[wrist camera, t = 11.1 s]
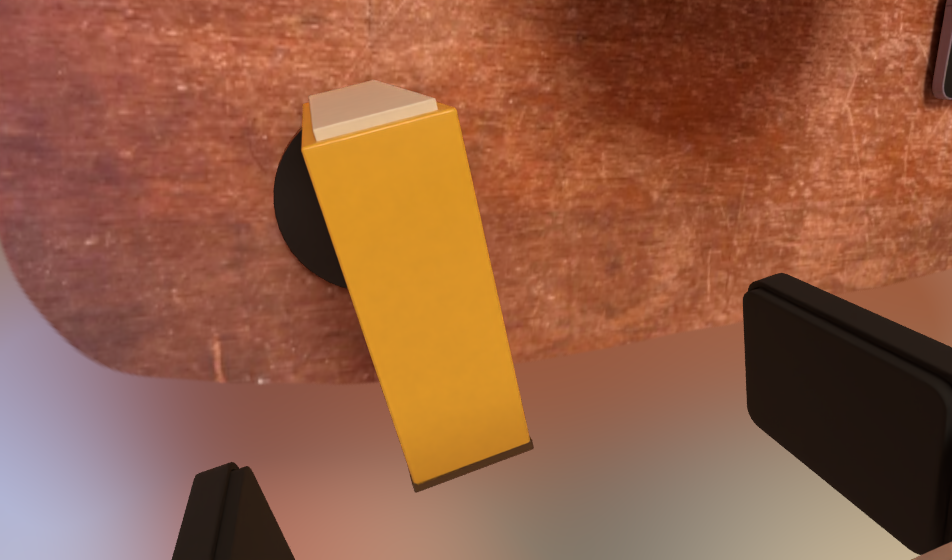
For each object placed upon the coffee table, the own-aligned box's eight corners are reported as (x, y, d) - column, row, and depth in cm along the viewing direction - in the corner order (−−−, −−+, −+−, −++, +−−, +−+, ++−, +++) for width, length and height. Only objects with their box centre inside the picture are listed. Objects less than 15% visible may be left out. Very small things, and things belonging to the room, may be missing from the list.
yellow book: (368, 310, 32) (415, 493, 19) (298, 97, 27) (293, 135, 14) (439, 288, 33) (534, 449, 19) (383, 77, 28) (455, 94, 15)
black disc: (375, 317, 34) (378, 326, 33) (231, 199, 29) (228, 204, 28) (498, 194, 33) (505, 198, 32) (369, 55, 29) (372, 55, 28)
